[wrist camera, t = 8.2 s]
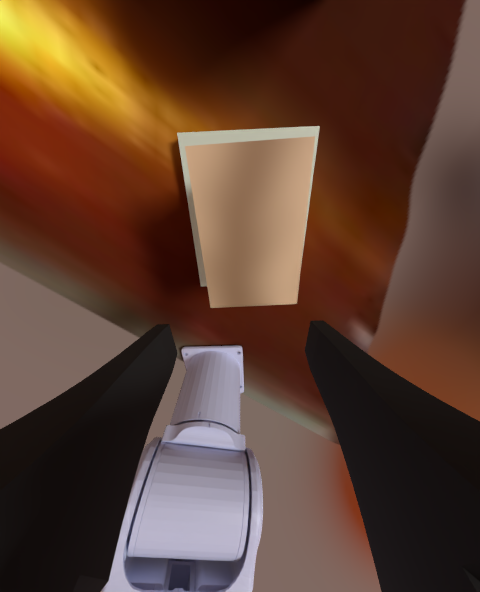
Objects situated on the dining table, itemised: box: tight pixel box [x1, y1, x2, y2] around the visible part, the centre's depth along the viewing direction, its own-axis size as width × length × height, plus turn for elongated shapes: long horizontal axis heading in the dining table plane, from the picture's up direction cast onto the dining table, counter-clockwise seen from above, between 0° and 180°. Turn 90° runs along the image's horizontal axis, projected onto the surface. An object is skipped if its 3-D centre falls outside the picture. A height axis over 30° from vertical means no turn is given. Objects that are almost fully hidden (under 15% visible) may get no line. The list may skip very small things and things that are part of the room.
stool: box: [185, 136, 315, 308], centre depth 12 cm, size 5×8×7 cm
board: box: [177, 126, 320, 286], centre depth 16 cm, size 12×10×1 cm
